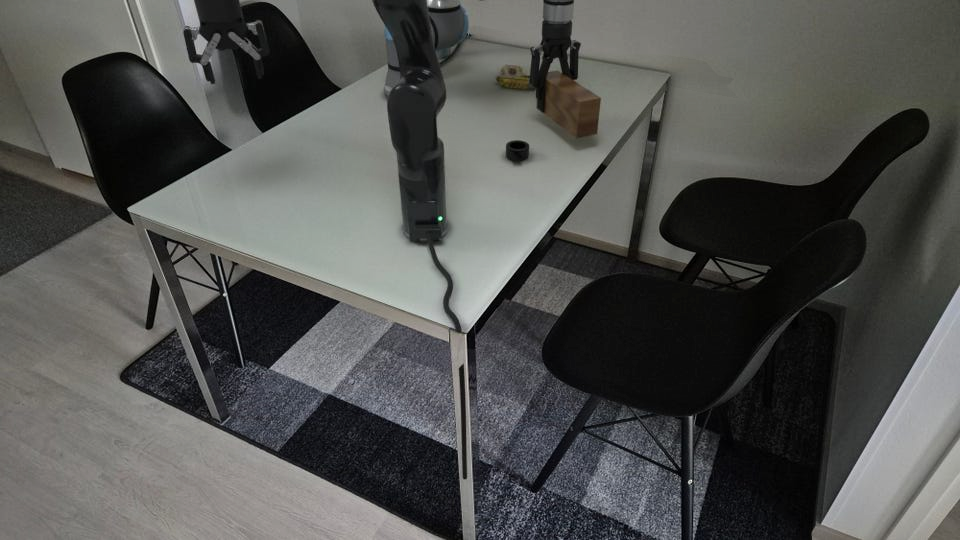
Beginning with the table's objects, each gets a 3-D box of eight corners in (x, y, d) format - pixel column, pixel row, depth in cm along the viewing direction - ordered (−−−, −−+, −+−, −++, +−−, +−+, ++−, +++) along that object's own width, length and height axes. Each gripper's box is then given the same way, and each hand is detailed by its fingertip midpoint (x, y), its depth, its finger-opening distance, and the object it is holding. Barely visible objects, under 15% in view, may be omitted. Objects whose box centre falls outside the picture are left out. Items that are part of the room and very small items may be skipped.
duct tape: (493, 159, 157) (493, 148, 155) (515, 144, 163) (515, 134, 161) (519, 168, 153) (519, 157, 151) (540, 152, 160) (541, 142, 158)
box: (597, 134, 159) (601, 97, 153) (576, 138, 157) (579, 102, 151) (555, 104, 174) (557, 70, 168) (536, 108, 172) (537, 73, 166)
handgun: (571, 77, 201) (567, 95, 190) (501, 70, 205) (493, 87, 193) (572, 69, 200) (567, 86, 188) (501, 63, 203) (493, 79, 191)
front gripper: (255, -18, 115) (273, 69, 125) (173, -12, 112) (198, 77, 122) (256, -8, 110) (275, 83, 119) (169, -1, 106) (196, 91, 116)
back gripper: (582, 11, 162) (575, 97, 176) (516, 20, 156) (514, 109, 170) (598, 18, 157) (589, 107, 171) (530, 29, 151) (527, 119, 165)
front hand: (236, 80), depth 121 cm, fingers open, 8 cm apart
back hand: (551, 108), depth 170 cm, fingers closed on box, 6 cm apart
